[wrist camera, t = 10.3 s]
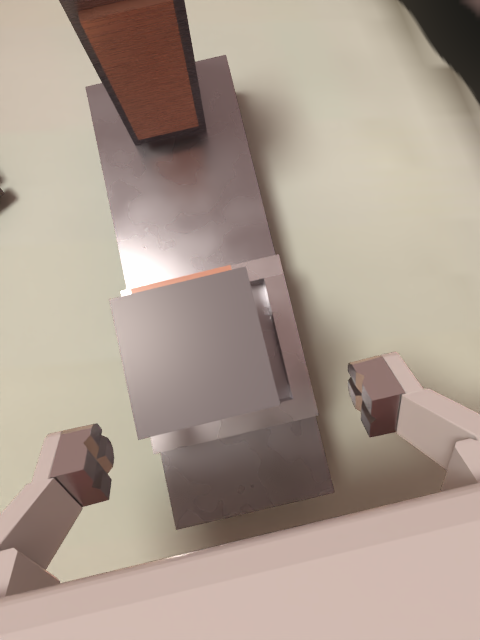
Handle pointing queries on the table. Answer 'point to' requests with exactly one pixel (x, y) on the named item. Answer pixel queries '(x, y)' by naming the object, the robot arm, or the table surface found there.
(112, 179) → the grey base with post
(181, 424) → the block
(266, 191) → the table surface
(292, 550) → the robot arm
